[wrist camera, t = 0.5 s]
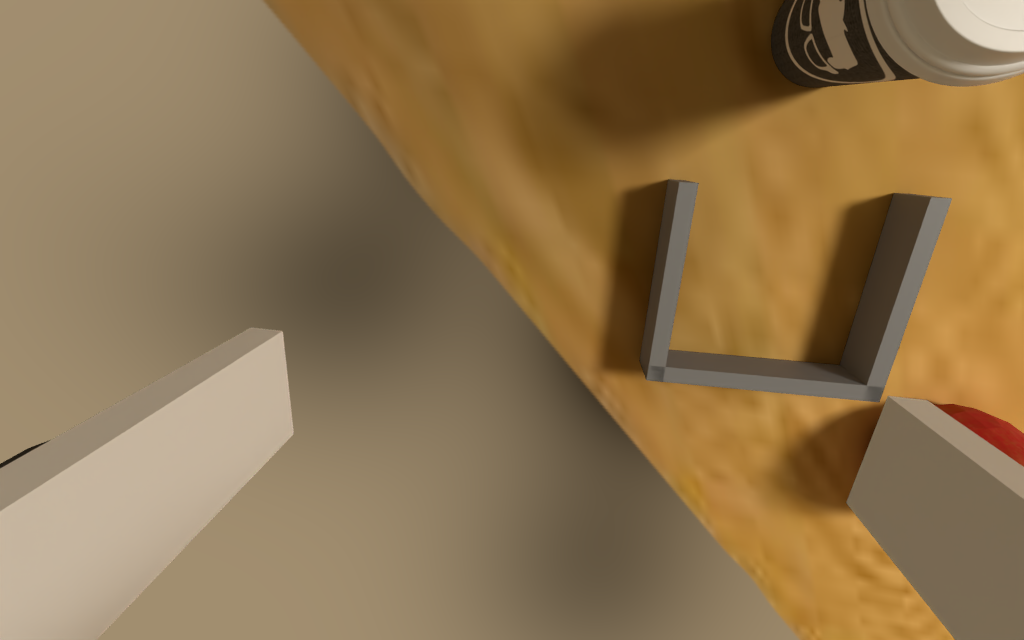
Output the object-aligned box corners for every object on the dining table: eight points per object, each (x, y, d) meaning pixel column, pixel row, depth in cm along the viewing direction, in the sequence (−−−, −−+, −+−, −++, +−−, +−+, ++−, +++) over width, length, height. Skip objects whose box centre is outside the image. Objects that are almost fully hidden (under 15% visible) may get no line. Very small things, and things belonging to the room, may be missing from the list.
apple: (898, 518, 41) (1005, 634, 31) (824, 443, 39) (911, 540, 29) (1018, 450, 37) (1180, 555, 28) (943, 364, 36) (1086, 444, 26)
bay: (668, 179, 34) (679, 182, 30) (912, 194, 32) (951, 198, 29) (639, 360, 38) (646, 380, 35) (851, 380, 37) (879, 402, 34)
